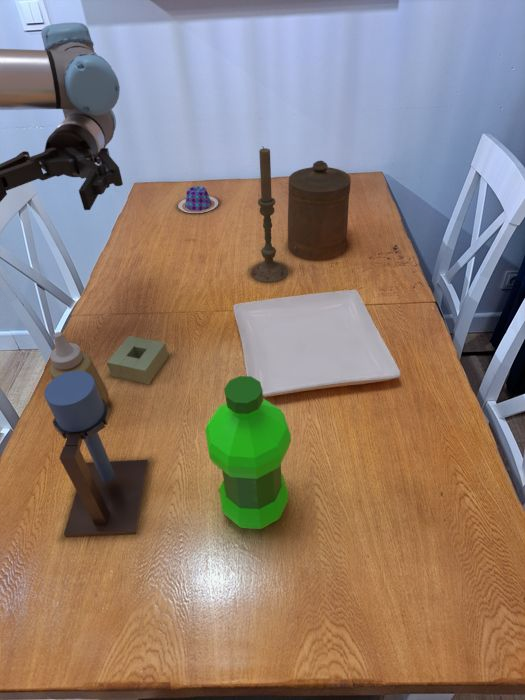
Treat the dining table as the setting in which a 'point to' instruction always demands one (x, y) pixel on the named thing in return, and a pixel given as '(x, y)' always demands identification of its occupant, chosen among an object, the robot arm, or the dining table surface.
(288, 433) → the plastic bottle
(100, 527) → the peg stand
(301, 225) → the wooden container
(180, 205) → the pudding
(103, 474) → the peg
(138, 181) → the dining table surface
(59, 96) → the robot arm
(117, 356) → the socket block
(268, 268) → the candlestick holder
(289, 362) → the square plate
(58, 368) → the squeeze bottle
